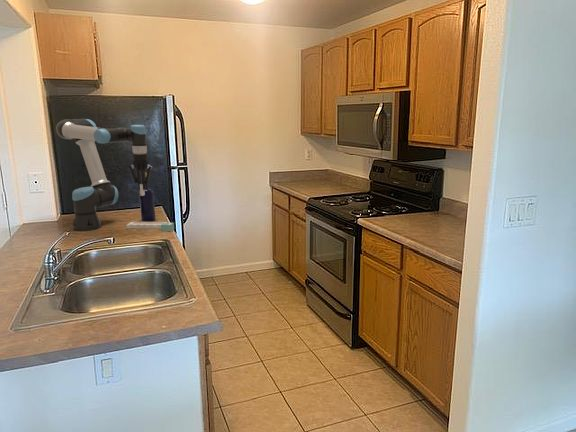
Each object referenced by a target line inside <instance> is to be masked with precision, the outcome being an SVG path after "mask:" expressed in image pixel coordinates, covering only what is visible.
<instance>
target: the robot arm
mask: <svg viewBox="0 0 576 432" xmlns="http://www.w3.org/2000/svg"><path fill="white" fill-rule="evenodd" d="M55 132H56V134H57V135H58V136H59V137H60V138H61V139H64V140H74V143H75V144H76V145H77V146H79V148H80V151H81V154H82V157H83V160H84V163H85V166H86V170H87V172H88V175H89V178H90V181H91V185H90V186H83V187H78V188H75V189H74V190H73V191H72V192H71V193H72V194H71V195H72V196H71V197H72V198H71V199H72V204H73V211H74V212H73V213H74V218H73V223H72V230H74V231H77V232H78V231H79V232H81V231H84V232H85V231H91V230H97V229H100V228H101V227H102V222H101V220H100V218H99V216H98V214H97V209H99V208H103V207H110V206H111V205H115V204H116V203H117V201H118V199H119V191H118V188H117V187H116V186H115V185H113V184H112V183H111V181H110V180H108V179H107V176H106V173H105V170H104V167H103V164H102V160H101V157H100V155H99V152H98V149H97V145H96V143H97V144H113V143H124V142H125V143H127V142H128V143H131V147H132V150H131V151H132V153H133V154H132V160H133V162H132V164H131V165H129V166H128V169H129V170H130V172H131V175H132V179H133V182H134V183H135V184H137V185H138V188H137V189H138V190H139V192H140V195H141V196H144V195H145V189H146V183H148V184H149V182H150V177H151V174H152V169H153V165H151V164H149V162H148V149H147V148H148V147H147V131H146V127H145V124H132V125H130V127H118V128H117V127H116V128H114V127H113V128H104V127H97V125H96V123H95V122H94V121H93V120H91V119H88V118H72V119H71V118H66V119H62V120H60V121H59V122H58V123H57V124H56V127H55ZM95 142H96V143H95ZM146 169H147V171H146ZM145 173H147V176H146V175H145Z"/></svg>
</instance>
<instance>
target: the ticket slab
mask: <svg viewBox="0 0 576 432" xmlns="http://www.w3.org/2000/svg"><path fill="white" fill-rule="evenodd" d="M163 223H169V222H168V221H153V222H142V221H131V222H128V223H127V224H126V225H125V227H126V229H136V230H137V229H138V230H140V229H148V230H151V229H152V230H153V229H154V230H155V229H156V230H158V229H159V230H161V224H163Z"/></svg>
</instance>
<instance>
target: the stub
mask: <svg viewBox="0 0 576 432" xmlns="http://www.w3.org/2000/svg"><path fill="white" fill-rule="evenodd" d="M172 230H173V231H174V230H175V222H168V223H163V224H161V229H160V231H161V232H162V231H172ZM173 231H172V232H173Z"/></svg>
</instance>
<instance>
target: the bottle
mask: <svg viewBox="0 0 576 432" xmlns="http://www.w3.org/2000/svg"><path fill="white" fill-rule="evenodd" d="M145 175H146V176H147V172H145ZM148 184H149V182H148V183H146V189H145V195H144V196H141V195H140V191H139V192H138V193H139V206H140V218H141V219H140V221H141V222H157V219H156V209H155V197H154V191H153V190H152V189H151V188H149V185H148Z"/></svg>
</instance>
